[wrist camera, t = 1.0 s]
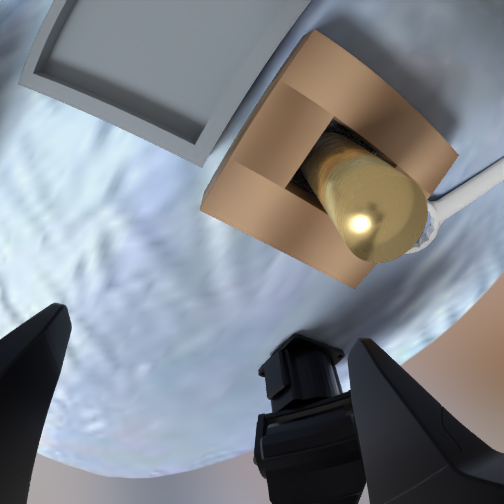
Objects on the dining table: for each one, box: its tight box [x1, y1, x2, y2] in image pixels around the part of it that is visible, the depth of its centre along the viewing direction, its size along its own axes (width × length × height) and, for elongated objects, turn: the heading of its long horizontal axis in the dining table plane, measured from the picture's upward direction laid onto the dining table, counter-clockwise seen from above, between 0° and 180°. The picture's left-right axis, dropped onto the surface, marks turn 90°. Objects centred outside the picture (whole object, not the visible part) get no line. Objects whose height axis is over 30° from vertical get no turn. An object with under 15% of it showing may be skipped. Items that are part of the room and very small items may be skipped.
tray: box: [18, 0, 311, 168], centre depth 13 cm, size 14×14×2 cm
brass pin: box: [300, 132, 428, 263], centre depth 16 cm, size 4×4×9 cm
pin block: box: [200, 29, 459, 289], centre depth 18 cm, size 12×12×3 cm
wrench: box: [405, 157, 504, 254], centre depth 20 cm, size 25×2×5 cm
